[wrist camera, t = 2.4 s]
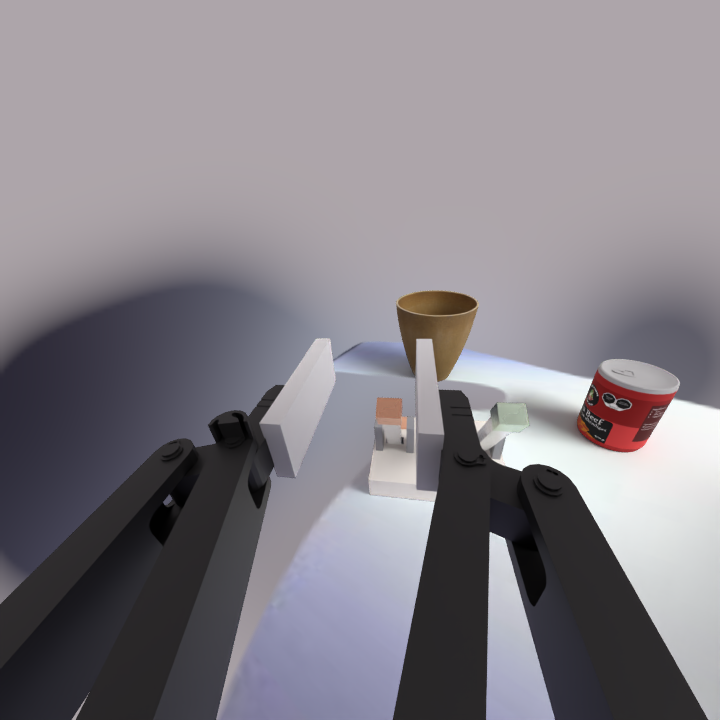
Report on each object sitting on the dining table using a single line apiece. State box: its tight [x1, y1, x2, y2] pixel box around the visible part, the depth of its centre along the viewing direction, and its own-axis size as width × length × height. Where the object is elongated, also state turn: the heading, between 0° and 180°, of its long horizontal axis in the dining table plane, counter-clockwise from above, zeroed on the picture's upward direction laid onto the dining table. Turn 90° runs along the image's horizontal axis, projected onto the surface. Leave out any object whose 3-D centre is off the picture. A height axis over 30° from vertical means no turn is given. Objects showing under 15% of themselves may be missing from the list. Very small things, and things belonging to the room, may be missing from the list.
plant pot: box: [396, 291, 479, 382], centre depth 57 cm, size 15×15×16 cm
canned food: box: [577, 359, 680, 452], centre depth 40 cm, size 8×8×11 cm
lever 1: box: [376, 398, 404, 445], centre depth 33 cm, size 2×2×15 cm
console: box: [368, 416, 506, 501], centre depth 38 cm, size 17×12×7 cm
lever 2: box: [477, 402, 530, 451], centre depth 31 cm, size 2×2×15 cm
